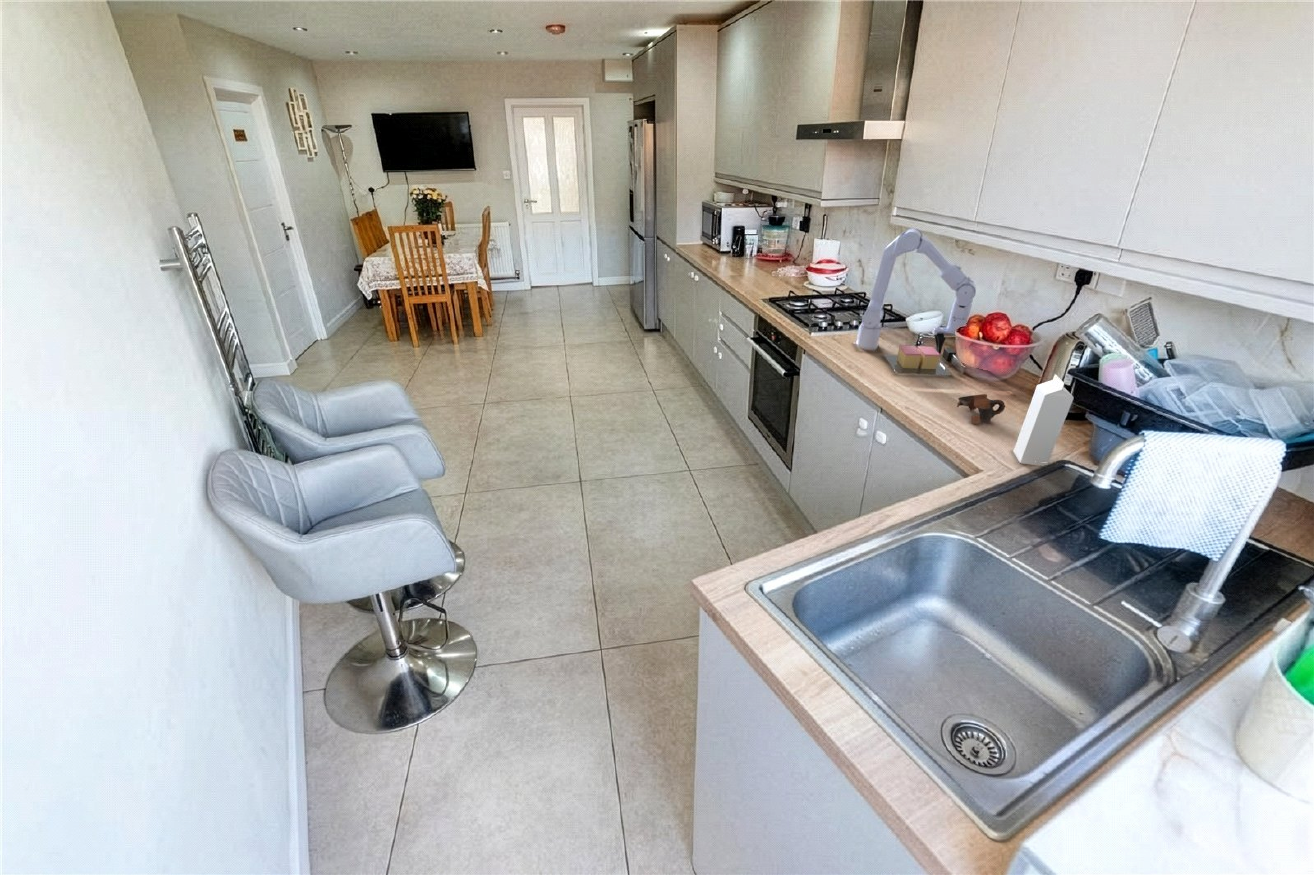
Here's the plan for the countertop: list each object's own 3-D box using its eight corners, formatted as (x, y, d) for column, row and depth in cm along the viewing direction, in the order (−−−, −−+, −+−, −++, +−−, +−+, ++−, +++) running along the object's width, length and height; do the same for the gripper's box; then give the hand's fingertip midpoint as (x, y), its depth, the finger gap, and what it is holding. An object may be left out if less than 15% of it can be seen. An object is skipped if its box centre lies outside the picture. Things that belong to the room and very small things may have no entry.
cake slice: (914, 360, 200) (917, 346, 197) (929, 360, 199) (932, 346, 197) (921, 368, 193) (925, 354, 190) (936, 369, 192) (940, 354, 190)
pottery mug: (961, 425, 159) (958, 396, 159) (955, 425, 168) (952, 398, 168) (1010, 420, 155) (1006, 390, 155) (1001, 420, 164) (998, 392, 164)
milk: (1038, 454, 144) (1069, 375, 133) (1046, 467, 139) (1079, 384, 128) (1012, 451, 145) (1041, 372, 134) (1019, 463, 140) (1050, 382, 129)
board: (882, 356, 205) (883, 354, 205) (934, 358, 204) (934, 356, 203) (895, 375, 190) (896, 373, 189) (951, 377, 188) (952, 375, 188)
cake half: (896, 359, 200) (899, 345, 198) (911, 360, 200) (914, 346, 197) (902, 368, 193) (906, 353, 191) (917, 368, 193) (921, 354, 190)
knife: (941, 358, 204) (944, 347, 202) (948, 358, 204) (951, 347, 202) (958, 376, 189) (961, 364, 187) (965, 376, 189) (969, 365, 187)
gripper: (941, 319, 191) (931, 357, 198) (985, 320, 190) (974, 358, 196) (934, 313, 197) (925, 350, 204) (977, 314, 196) (967, 351, 202)
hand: (949, 354), depth 200 cm, fingers open, 7 cm apart
